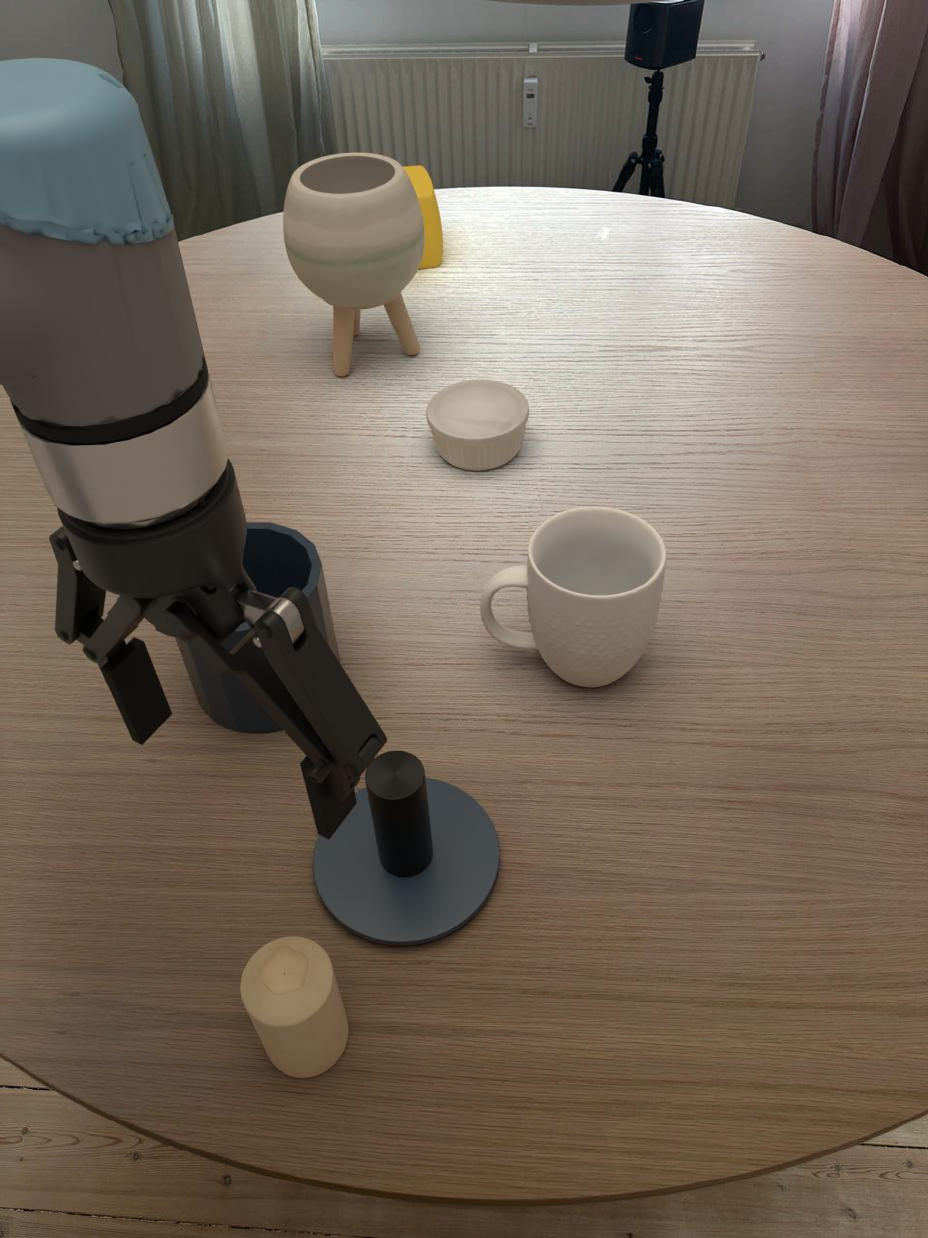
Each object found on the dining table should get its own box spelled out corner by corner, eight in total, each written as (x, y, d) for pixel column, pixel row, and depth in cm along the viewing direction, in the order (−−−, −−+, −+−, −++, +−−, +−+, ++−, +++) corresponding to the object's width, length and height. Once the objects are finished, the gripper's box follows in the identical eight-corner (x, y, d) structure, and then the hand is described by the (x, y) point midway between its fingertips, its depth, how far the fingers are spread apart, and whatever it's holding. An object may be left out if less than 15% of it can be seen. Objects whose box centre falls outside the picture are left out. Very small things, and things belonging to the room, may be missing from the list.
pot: (214, 776, 79) (177, 675, 71) (182, 627, 91) (147, 524, 83) (364, 731, 82) (346, 628, 73) (314, 592, 94) (293, 489, 85)
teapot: (453, 281, 137) (449, 196, 129) (365, 290, 136) (355, 205, 128) (434, 220, 151) (429, 140, 143) (353, 229, 150) (344, 148, 142)
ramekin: (446, 487, 105) (444, 447, 101) (416, 431, 112) (412, 391, 108) (544, 464, 107) (545, 423, 103) (507, 410, 114) (507, 370, 111)
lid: (341, 977, 67) (318, 896, 59) (296, 816, 77) (271, 727, 69) (528, 911, 70) (530, 826, 62) (463, 764, 79) (458, 673, 71)
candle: (266, 1086, 62) (234, 1023, 55) (265, 1002, 66) (235, 933, 59) (352, 1071, 63) (332, 1006, 56) (346, 988, 67) (326, 918, 60)
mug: (480, 707, 84) (476, 597, 74) (483, 615, 91) (480, 505, 82) (657, 708, 83) (675, 598, 73) (645, 615, 90) (660, 504, 81)
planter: (332, 316, 131) (307, 141, 115) (447, 329, 128) (438, 150, 112) (285, 380, 121) (250, 197, 105) (409, 396, 117) (393, 209, 101)
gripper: (440, 512, 39) (460, 808, 55) (6, 365, 49) (126, 654, 64) (333, 632, 35) (387, 919, 50) (-123, 445, 44) (39, 735, 59)
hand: (241, 771), depth 57 cm, fingers open, 13 cm apart
